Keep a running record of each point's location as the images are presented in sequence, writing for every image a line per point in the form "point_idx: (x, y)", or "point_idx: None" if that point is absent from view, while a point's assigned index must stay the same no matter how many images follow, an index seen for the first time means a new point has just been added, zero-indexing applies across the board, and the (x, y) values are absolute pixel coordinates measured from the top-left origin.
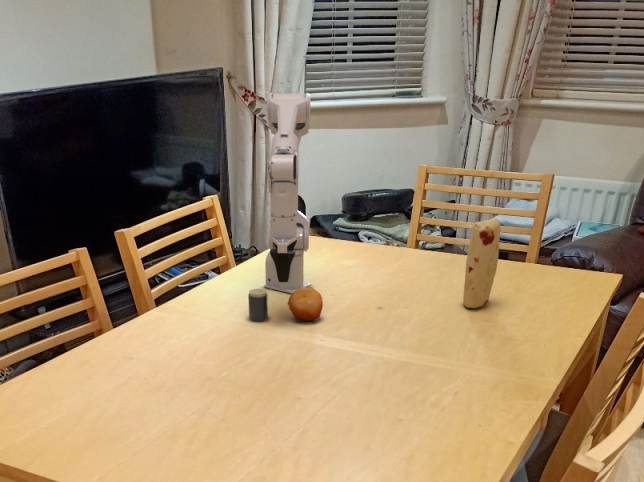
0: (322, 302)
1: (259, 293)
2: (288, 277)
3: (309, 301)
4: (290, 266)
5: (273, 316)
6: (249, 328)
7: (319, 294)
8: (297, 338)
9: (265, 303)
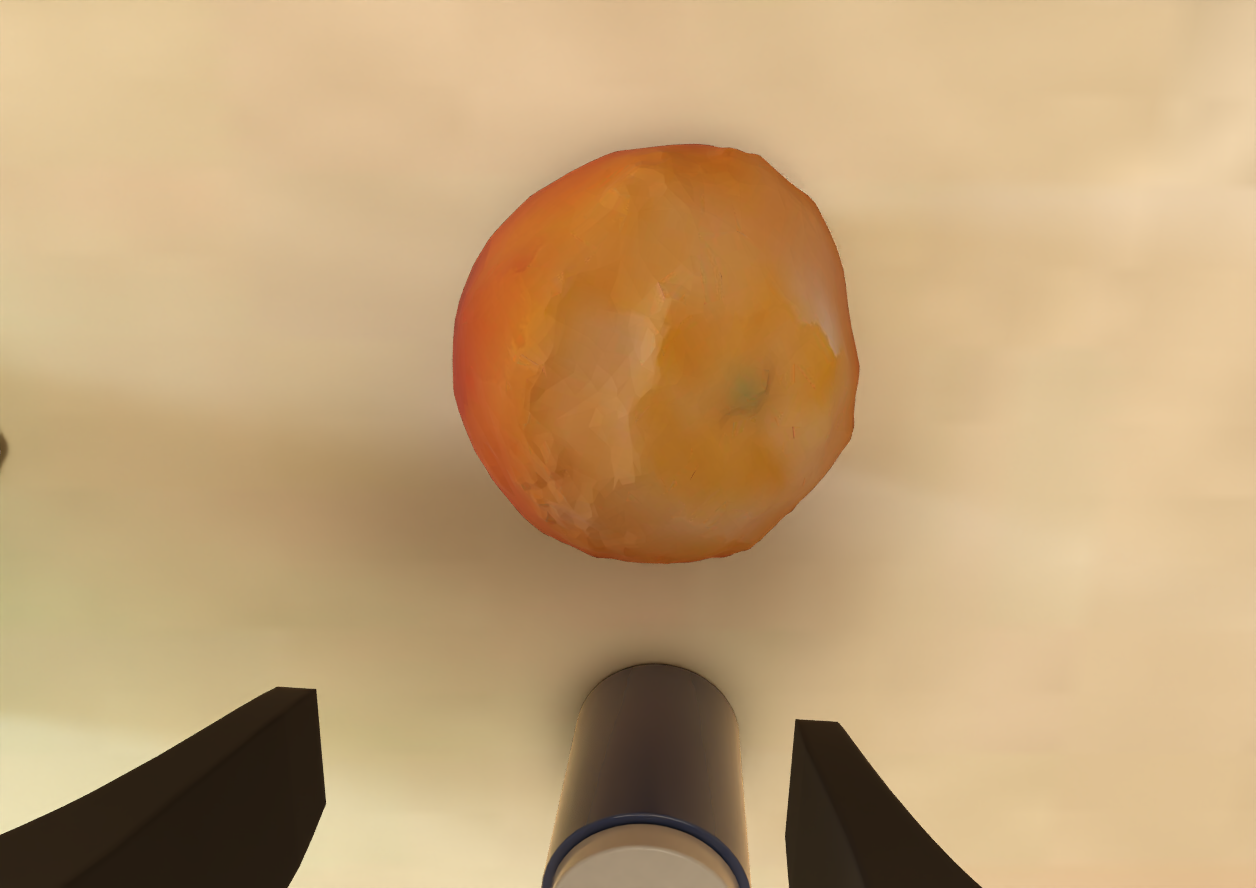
0: (708, 146)
1: None
2: (864, 758)
3: (824, 327)
4: (977, 885)
5: (598, 617)
6: None
7: (674, 189)
8: (1178, 410)
9: (709, 780)
